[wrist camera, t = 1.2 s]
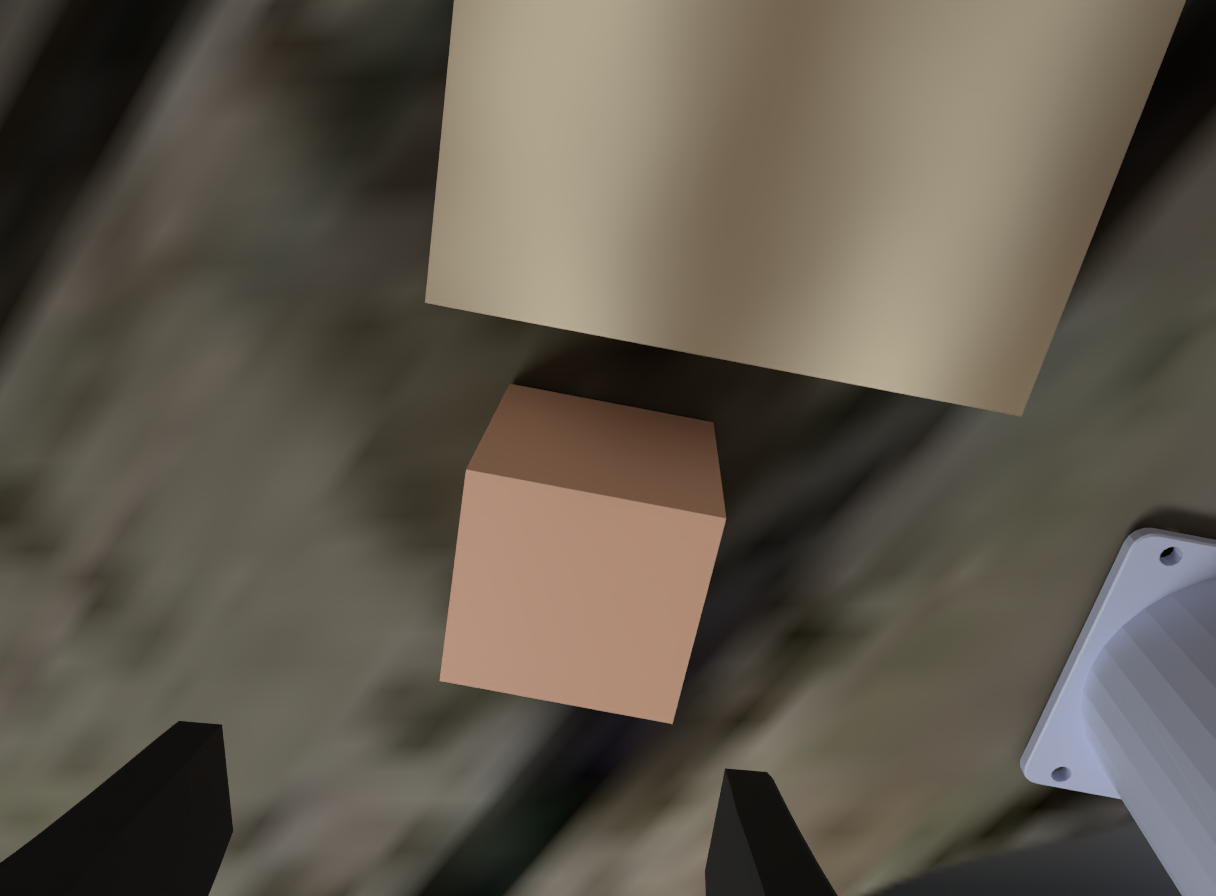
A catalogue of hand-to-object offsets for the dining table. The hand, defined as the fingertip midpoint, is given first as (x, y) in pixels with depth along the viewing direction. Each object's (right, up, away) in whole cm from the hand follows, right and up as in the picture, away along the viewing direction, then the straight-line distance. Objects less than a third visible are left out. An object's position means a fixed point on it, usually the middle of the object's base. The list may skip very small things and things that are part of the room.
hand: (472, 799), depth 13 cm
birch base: (+5, +13, +5) cm, 15 cm away
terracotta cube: (+2, +4, +10) cm, 10 cm away
